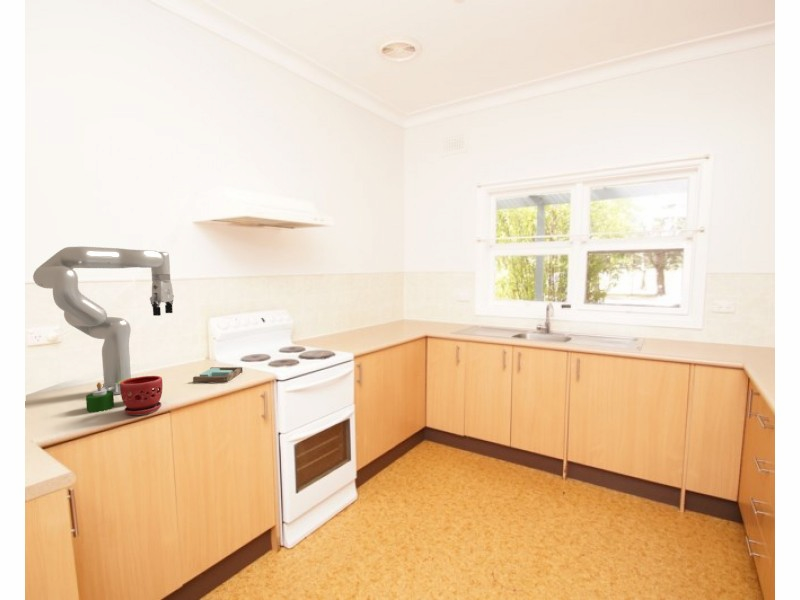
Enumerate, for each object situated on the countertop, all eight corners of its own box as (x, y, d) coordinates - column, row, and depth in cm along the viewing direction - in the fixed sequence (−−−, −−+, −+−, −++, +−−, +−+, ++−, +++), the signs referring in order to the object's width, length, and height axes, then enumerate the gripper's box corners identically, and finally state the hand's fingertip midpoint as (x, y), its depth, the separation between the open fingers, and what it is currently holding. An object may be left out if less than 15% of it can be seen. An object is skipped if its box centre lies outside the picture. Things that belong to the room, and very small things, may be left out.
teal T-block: (225, 380, 189) (225, 374, 189) (199, 381, 189) (199, 374, 189) (236, 374, 201) (235, 368, 201) (211, 374, 201) (211, 368, 201)
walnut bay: (227, 382, 186) (226, 377, 186) (193, 382, 186) (193, 377, 186) (242, 372, 204) (242, 367, 204) (211, 372, 204) (211, 367, 204)
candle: (101, 412, 149) (100, 385, 148) (81, 412, 150) (79, 385, 149) (119, 404, 157) (117, 379, 156) (99, 404, 158) (97, 379, 157)
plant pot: (171, 407, 154) (170, 376, 153) (138, 419, 142) (136, 386, 141) (147, 403, 159) (146, 373, 158) (113, 414, 147) (111, 382, 146)
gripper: (158, 278, 183) (160, 316, 185) (179, 277, 201) (180, 312, 202) (141, 278, 183) (143, 316, 185) (163, 277, 201) (165, 312, 202)
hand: (163, 314), depth 194 cm, fingers open, 9 cm apart
